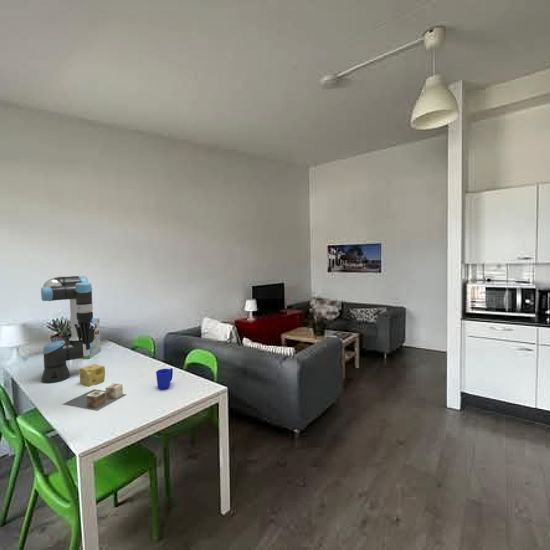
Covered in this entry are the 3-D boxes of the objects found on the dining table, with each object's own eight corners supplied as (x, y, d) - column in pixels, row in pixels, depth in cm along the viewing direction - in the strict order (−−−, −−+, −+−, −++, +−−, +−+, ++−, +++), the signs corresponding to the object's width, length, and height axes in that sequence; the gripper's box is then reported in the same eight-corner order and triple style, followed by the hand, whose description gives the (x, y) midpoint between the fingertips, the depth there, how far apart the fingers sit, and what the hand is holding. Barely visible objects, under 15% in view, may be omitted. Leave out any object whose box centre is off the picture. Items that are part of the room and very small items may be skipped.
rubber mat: (61, 404, 171) (61, 404, 171) (94, 389, 190) (94, 389, 190) (97, 411, 164) (97, 410, 164) (127, 395, 183) (127, 394, 183)
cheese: (88, 387, 194) (88, 371, 193) (79, 383, 200) (78, 367, 199) (105, 381, 203) (105, 365, 202) (96, 378, 208) (95, 363, 208)
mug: (178, 383, 199) (177, 367, 198) (165, 391, 188) (164, 374, 187) (166, 381, 202) (166, 365, 201) (153, 389, 190) (152, 372, 190)
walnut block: (95, 396, 166) (96, 408, 167) (105, 392, 172) (105, 403, 172) (86, 395, 168) (87, 406, 168) (96, 390, 174) (96, 401, 174)
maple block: (105, 398, 178) (105, 387, 178) (112, 393, 184) (112, 383, 183) (116, 399, 177) (115, 388, 177) (122, 394, 183) (122, 383, 183)
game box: (94, 351, 267) (92, 318, 265) (101, 350, 268) (99, 318, 266) (81, 359, 246) (80, 323, 245) (89, 359, 247) (88, 323, 245)
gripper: (69, 312, 172) (71, 356, 174) (87, 313, 167) (89, 358, 169) (81, 309, 179) (83, 352, 181) (100, 311, 175) (101, 354, 176)
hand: (86, 355), depth 175 cm, fingers closed
